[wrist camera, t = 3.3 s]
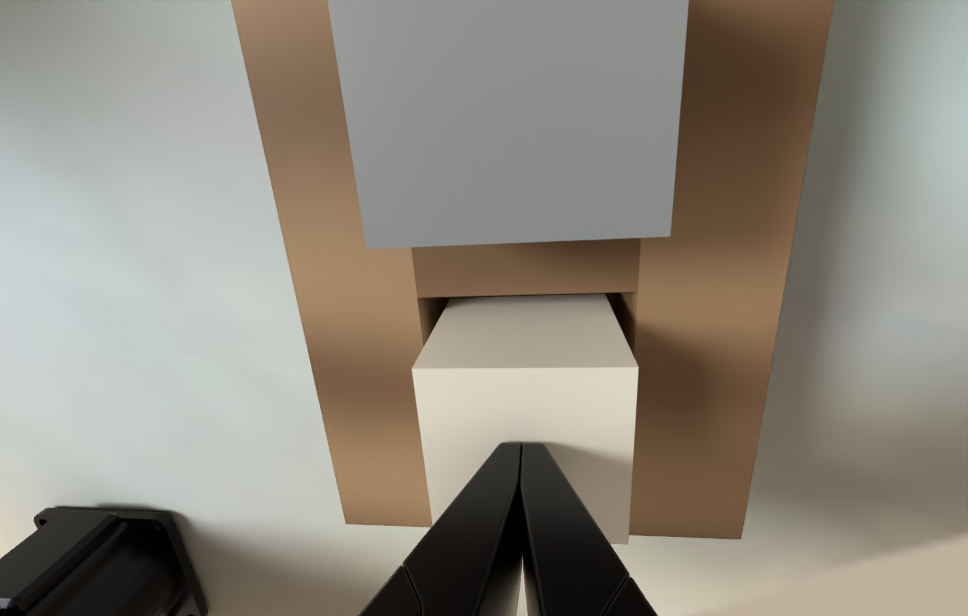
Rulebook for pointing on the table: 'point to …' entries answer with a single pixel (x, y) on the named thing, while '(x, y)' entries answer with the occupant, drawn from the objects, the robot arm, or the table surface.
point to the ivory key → (531, 396)
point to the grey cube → (511, 117)
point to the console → (559, 264)
